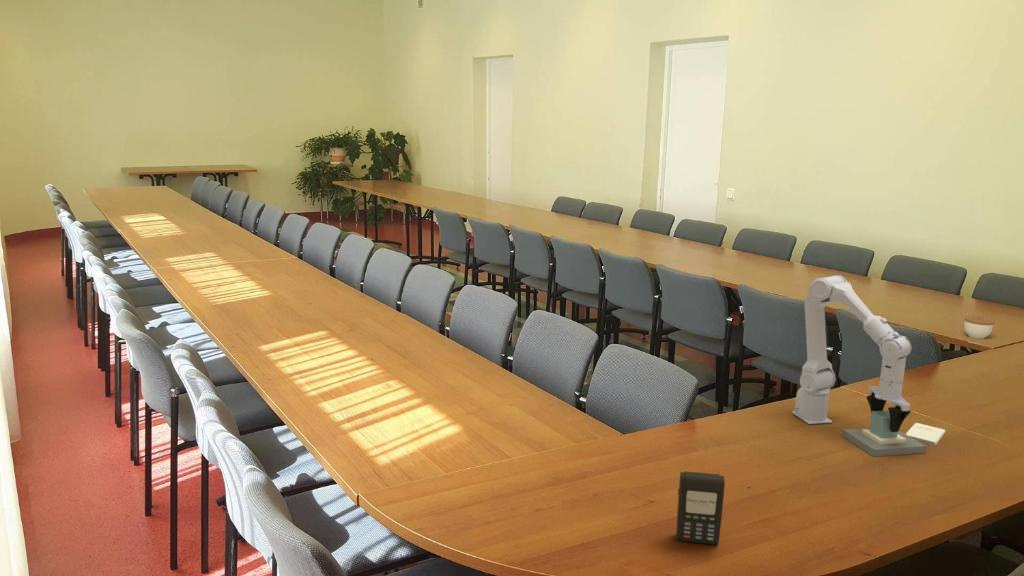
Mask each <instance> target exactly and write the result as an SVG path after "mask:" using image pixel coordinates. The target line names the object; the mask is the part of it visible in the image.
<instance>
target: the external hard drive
mask: <svg viewBox="0 0 1024 576" xmlns="http://www.w3.org/2000/svg"><path fill="white" fill-rule="evenodd" d="M905 434H906V435H908V436H910V437H911V438H913V439H915V440H917V441H918V442H919V441H920V443H923V442H924V443H923V444H928V445H931V444H932V445H931V446H934V445H936V446H937V444H938V443H939V442H940V440H942V438H943V437H944V435H945V434H946V429H943V428H939V427H935V426H932V425H931V426H930V425H926V424H923V423H920V422H919V423H918V422H915V423H913V425H912V426H911V427H910V428H909V430H907V432H906V433H905Z"/></svg>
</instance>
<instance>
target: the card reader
mask: <svg viewBox="0 0 1024 576" xmlns="http://www.w3.org/2000/svg"><path fill="white" fill-rule="evenodd" d="M679 474H680V475H679V484H678V490H677V495H678V499H677V509H676V510H677V512H676V513H677V515H676V540H680V542H687V543H697V544H699V543H700V544H709V545H715V544H719V542H720V537H721V536H720V534H721V528H722V527H721V525H722V520H723V519H722V518H723V517H722V516H723V506H724V496H725V494H724V493H725V487H726V485H725V483H726V481H725V476H724V475H720V474H719V473H707V472H695V471H680V473H679Z"/></svg>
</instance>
